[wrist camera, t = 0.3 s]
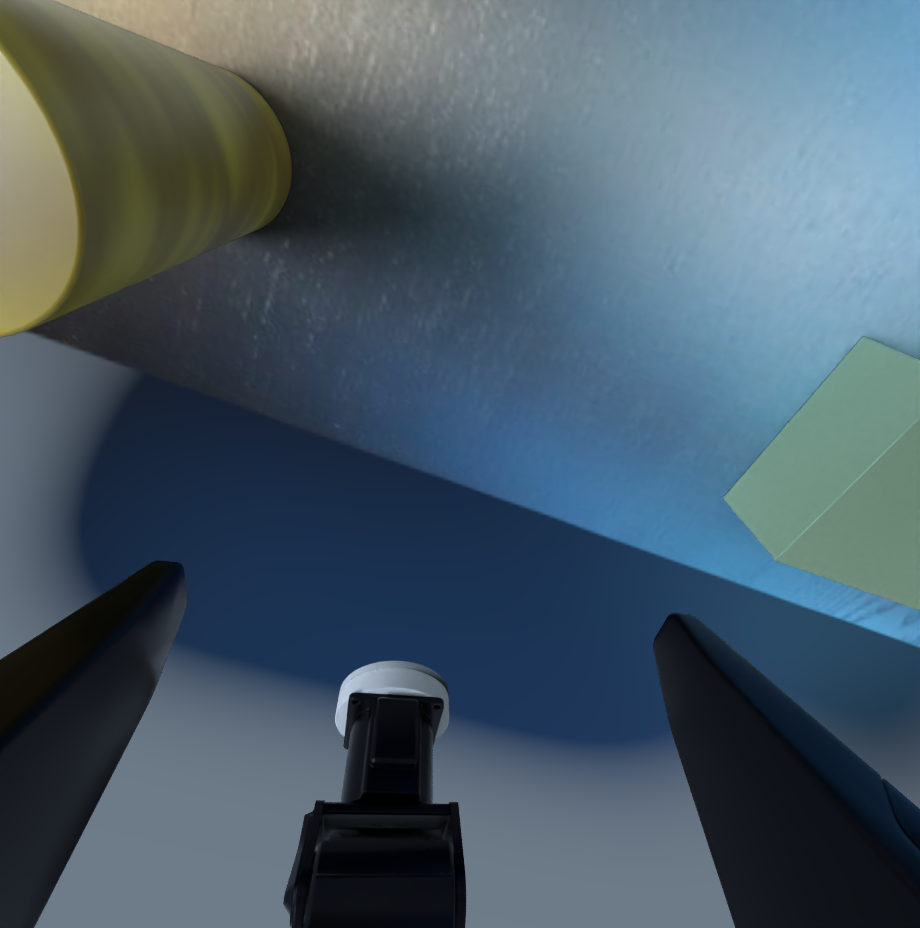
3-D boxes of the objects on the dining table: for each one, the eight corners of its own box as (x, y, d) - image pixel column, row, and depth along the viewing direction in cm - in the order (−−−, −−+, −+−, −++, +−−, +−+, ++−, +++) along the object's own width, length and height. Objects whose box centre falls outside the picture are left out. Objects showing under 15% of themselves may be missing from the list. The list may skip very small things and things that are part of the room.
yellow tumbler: (292, 245, 20) (113, 363, 9) (152, 219, 19) (-237, 312, 8) (292, 83, 17) (32, -45, 6) (130, 46, 16) (-510, -178, 5)
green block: (850, 546, 30) (919, 610, 26) (722, 498, 27) (774, 560, 23) (1001, 409, 25) (1116, 460, 21) (862, 335, 23) (960, 377, 19)
